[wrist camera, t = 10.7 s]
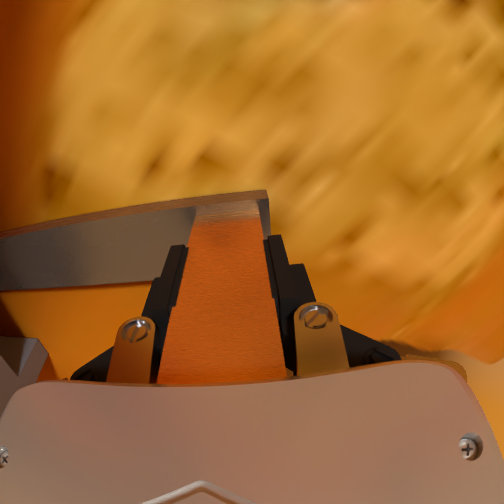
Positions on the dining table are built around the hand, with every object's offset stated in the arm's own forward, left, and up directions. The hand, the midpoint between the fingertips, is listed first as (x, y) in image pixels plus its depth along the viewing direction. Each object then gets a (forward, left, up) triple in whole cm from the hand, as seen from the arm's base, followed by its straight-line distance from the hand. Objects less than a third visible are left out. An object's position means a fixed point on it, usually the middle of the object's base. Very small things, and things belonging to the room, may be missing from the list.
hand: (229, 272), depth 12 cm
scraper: (0, -10, -4) cm, 11 cm away
